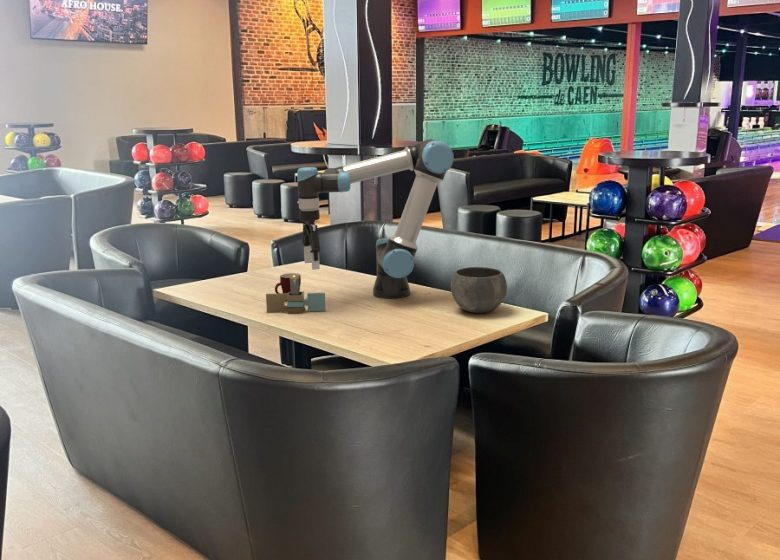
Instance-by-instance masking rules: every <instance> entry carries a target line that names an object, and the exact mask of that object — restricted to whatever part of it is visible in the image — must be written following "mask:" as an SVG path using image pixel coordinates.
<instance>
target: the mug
mask: <svg viewBox="0 0 780 560" xmlns="http://www.w3.org/2000/svg"><path fill="white" fill-rule="evenodd" d="M293 274H297V275H299V292H301V291H300V290H301V283H302V281H301V279H302V278H301V274H300V273H295V272H293V273H289V272H288V273H284V274H280V275H279V282H277V284H276V285H275V286H274V292H275V294H278V293H280V292H279V290H278V288H279V287H281V291H282V292H281V293H288V292H291V285H290V275H293Z"/></svg>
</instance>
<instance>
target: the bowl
mask: <svg viewBox="0 0 780 560" xmlns="http://www.w3.org/2000/svg"><path fill="white" fill-rule="evenodd" d="M507 291H508V283H507V280H506V277H505V274H504V273H503V271H501V270H500V269H497V268H492V267H481V266H479V267H478V266H473V267H472V266H470V267H463V268H459V269H457V270H456V271H455V272H454V274H453V276H452V277H451V281H450V292H451V295H452V298H453V299H454V302H455V303H456V304H457V306H458V307H459V308H461V309H462V310H464V311H466V312H470V313H473V314H475V313H476V314H484V313H489V312H491V311H493V310H495V309H497V308H498V307H499V306H500V305H501V304H502V303H503V301H504V300H505V298H506V295H507Z"/></svg>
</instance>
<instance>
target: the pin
mask: <svg viewBox="0 0 780 560" xmlns="http://www.w3.org/2000/svg"><path fill="white" fill-rule="evenodd" d="M297 274H298V273H296V274H293V275H290V285H291V295H300V292H301V291H300V292H299V275H297ZM291 302H299V301H291ZM292 308H297V307H292Z"/></svg>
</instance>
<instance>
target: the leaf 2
mask: <svg viewBox="0 0 780 560" xmlns="http://www.w3.org/2000/svg"><path fill="white" fill-rule="evenodd" d="M286 301H287V300H286ZM304 305H305V306H307V311H308V312H319V311H320V312H322V311H323V312H325V311H327V310H326V309H327V307H326V306H327V305H326V292H307V293H306V299H305V298H304V299H303V301H299V302H291V301H287V302H286V306H287V307H303V306H304Z"/></svg>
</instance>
